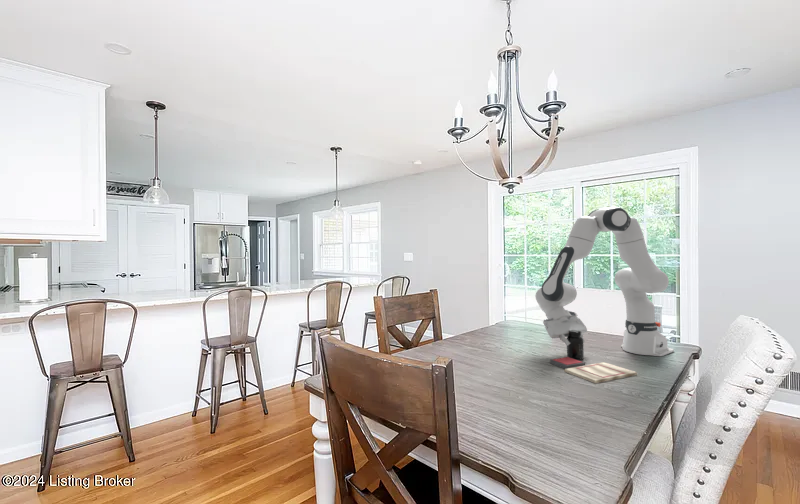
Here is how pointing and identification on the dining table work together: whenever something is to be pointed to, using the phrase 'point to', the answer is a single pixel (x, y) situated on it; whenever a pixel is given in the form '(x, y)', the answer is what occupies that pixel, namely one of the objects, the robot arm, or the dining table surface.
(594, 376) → the marked board
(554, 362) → the ink pad
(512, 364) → the dining table surface
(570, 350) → the supplement bottle
